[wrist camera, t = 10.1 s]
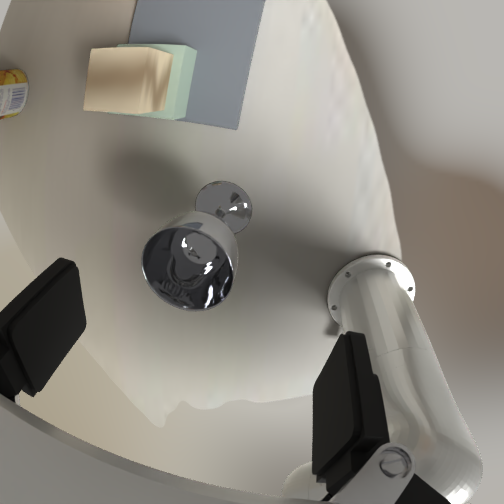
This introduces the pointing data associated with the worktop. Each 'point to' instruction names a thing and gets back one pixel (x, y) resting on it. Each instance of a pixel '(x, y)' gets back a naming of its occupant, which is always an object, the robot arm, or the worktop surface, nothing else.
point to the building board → (206, 50)
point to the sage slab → (173, 80)
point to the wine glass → (198, 249)
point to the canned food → (12, 92)
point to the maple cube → (127, 80)
